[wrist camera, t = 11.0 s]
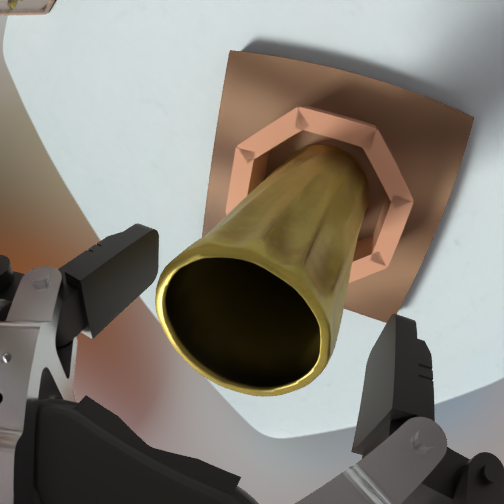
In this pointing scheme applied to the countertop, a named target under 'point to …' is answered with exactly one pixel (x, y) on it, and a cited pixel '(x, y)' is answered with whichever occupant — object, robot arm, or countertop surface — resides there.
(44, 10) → the decorative jar
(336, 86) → the board
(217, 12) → the countertop surface
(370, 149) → the holder ring
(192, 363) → the vase
